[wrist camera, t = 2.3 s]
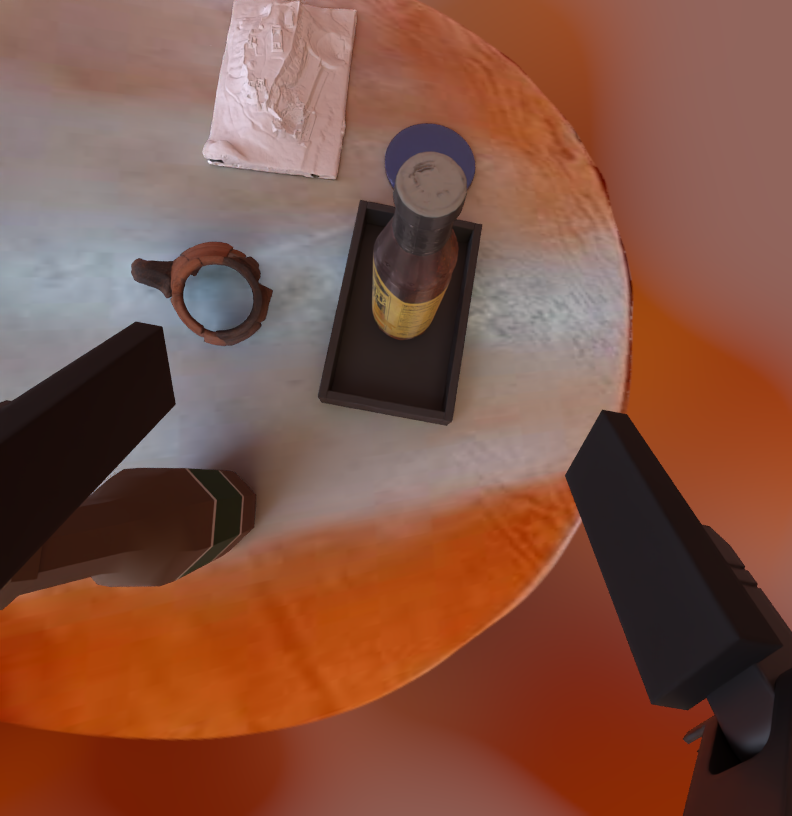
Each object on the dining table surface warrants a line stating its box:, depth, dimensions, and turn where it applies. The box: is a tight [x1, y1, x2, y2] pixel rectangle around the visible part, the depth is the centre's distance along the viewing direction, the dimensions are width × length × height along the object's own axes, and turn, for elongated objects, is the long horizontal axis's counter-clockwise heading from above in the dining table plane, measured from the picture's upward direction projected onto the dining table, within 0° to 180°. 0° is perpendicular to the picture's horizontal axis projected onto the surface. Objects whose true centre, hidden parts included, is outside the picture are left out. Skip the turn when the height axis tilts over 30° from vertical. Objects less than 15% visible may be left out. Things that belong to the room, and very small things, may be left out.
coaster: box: [385, 123, 475, 190], centre depth 45 cm, size 10×10×1 cm
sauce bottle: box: [372, 152, 467, 340], centre depth 32 cm, size 7×6×20 cm
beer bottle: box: [0, 468, 256, 610], centre depth 26 cm, size 8×8×24 cm
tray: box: [318, 200, 482, 426], centre depth 41 cm, size 13×21×3 cm, turn 170°
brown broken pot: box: [131, 242, 273, 346], centre depth 38 cm, size 12×10×8 cm
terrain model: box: [202, 0, 357, 179], centre depth 44 cm, size 17×23×5 cm
